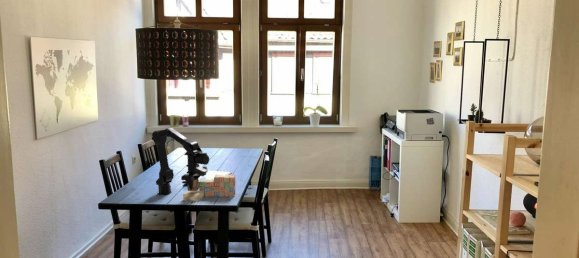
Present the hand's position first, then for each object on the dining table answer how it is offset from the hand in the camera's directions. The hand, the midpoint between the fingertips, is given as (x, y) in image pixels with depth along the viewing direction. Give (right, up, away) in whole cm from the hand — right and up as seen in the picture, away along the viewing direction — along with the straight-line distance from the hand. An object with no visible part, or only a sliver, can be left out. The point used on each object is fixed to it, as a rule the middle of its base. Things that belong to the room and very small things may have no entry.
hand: (193, 188), depth 270 cm
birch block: (0, -7, +1) cm, 7 cm away
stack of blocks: (+13, -6, +8) cm, 16 cm away
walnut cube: (0, -1, 0) cm, 1 cm away
